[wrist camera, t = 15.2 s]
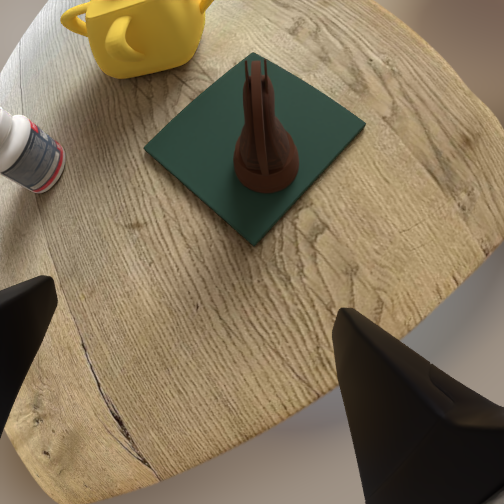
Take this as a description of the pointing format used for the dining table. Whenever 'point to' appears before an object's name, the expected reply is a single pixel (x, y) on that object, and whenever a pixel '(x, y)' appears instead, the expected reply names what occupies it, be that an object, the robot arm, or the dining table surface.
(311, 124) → the play mat
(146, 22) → the teapot
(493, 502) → the robot arm
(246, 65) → the chess piece
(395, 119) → the dining table surface
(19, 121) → the pill bottle
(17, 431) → the dining table surface
